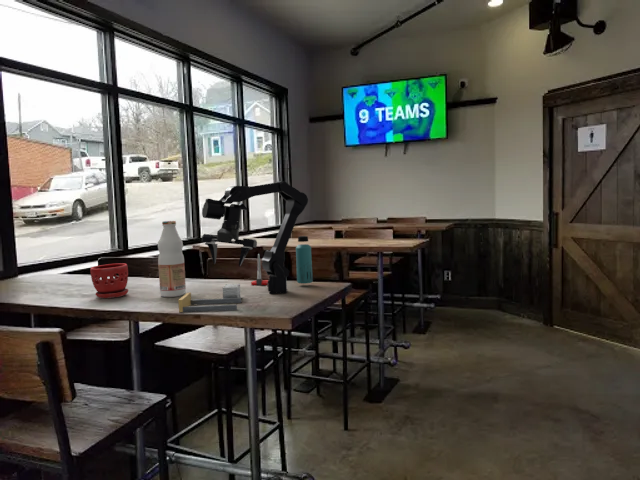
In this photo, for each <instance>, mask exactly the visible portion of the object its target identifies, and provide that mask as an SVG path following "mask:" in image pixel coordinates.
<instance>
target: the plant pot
mask: <svg viewBox="0 0 640 480" xmlns="http://www.w3.org/2000/svg"><path fill="white" fill-rule="evenodd" d="M89 272H90V276H91V282H92V284H93V287H94V289H95V290H96V292H95V296H96V297H97V298H99V299H115V298H120V297H123V296H125V295H127V294H128V292H129V289H128V288H126V287H127V285H128V281H129V279H128V278H129V268H128V264H127V263H123V262H122V263H121V262H120V263H108V264H101V265H96V266H92V267H90V270H89ZM117 274H118V275H117Z"/></svg>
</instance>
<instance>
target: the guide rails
mask: <svg viewBox="0 0 640 480" xmlns="http://www.w3.org/2000/svg"><path fill="white" fill-rule="evenodd" d="M241 303H242V297H240V298H223V297H222V298H202V299H201V298H200V299H199V298H198V299H192V293H191V292H186V293H185V294H184V295H182V296H180V298H179V299H178V312H179V313H193V312H192V311H198V312H217V311H218V312H219V311H237V310H238V305H237V304H241ZM194 304H197V305H196V306H195V305H194ZM220 304H221V305H220Z"/></svg>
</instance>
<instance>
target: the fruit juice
mask: <svg viewBox="0 0 640 480" xmlns="http://www.w3.org/2000/svg"><path fill="white" fill-rule="evenodd" d="M161 224H162V226H163V228H162V231H161V234H160V238H159V239H158V242H157V249H158V252H159V254H158V257H157V260H158V261H157V265H158V279H159V282H158V283H159V294H160V296H161V297H163V298H173V297H182V296H184V295H185V294H186V293H187V288H186V286H187V285H186V270H185V268H186V267H185V256H184V254H183V247H184V244H183V243H184V242H183V239H182V238H181V237H180V235H179V233H178V231H177V228H176V226H177V222H176V220H165V221H162V223H161Z"/></svg>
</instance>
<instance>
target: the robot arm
mask: <svg viewBox="0 0 640 480" xmlns="http://www.w3.org/2000/svg"><path fill="white" fill-rule="evenodd" d="M274 193H275V194H276V193H278V194H279V195H280V196H281V198H283V200H284V201H286V203H285V214H284V217H283V219H282V222H281V224H280V227H279V230H278V232H277V234H276V237H275V240H274V243H273V244H272V245H273V246H272V247H271V249H270V250H264V253H263V254H264V255H263V257H262V258H261V261H262V263H261V266H262V269H263V271H265V272H266V274H267V276H268V277H269V279H267V280H268V284H267V291H268V292H269V294H270V295H273V294H287V293H288V282H287V277H289V275H290V273H291V272H290V270H289V269H288V268H287V267H286V266H285V260H286V257H285V251H286V248H287V246H288V243H289V240H290V238H291V236H292V232H293V231H294V228H295V225H296V222H297V219H298V217H299V216H301V214H302V213H303V212H304V211H305V208H306V207H307V205H308V202H309V198H308V195H307V194H306V193H304V192H303V191H302V192H301V191H300V190H298V189H296V188H295V187H293V186H292V185H290V184H289V183H288V182H286V181H285V180H280V181H276V182H271V183H265V184H258V185H252V186H251V185H250V186H248V185H232V186H228V187H227V188H226V189H225V191H224V194H223V195H222V196H221V198H220V199H212V198H205V202H204V204H203V207H202V208H201V209H202V211H201V215H202V218H203V219H211V220H217V221H220V220H221V219H222V218H223V222H222V224H221V228H219V230H217V232H216V233H217V234H207V233H204V234H202V236H201V241H200V242H202V243H204V245H206V246H208V248H209V251H210V255H211V260H212V262H213V263H212V264H214V265H215V264H216V262H217V254H218V243H223V244H224V243H225V244H234V245H242V246H243V247H242V246H241V247H240V255H239V261H238V267H241V266H242V264H243V262H244V260H245V258H246V256H247V255H248V253H249V252H250V251H251V250H254V249H253V248H257V246H258V242H257V239H253V238H252V239H251V238H243V239H239V238H240V234H239V233H240V228H241V224H240V222H241V215H242V211H247V210H248V208H247V206H245V204H244V203H243V202H244V201H247V200H248V199H250V198H253V197H257V196H258V197H259V196H263V195H269V194H274ZM237 203H239V204H237Z"/></svg>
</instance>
